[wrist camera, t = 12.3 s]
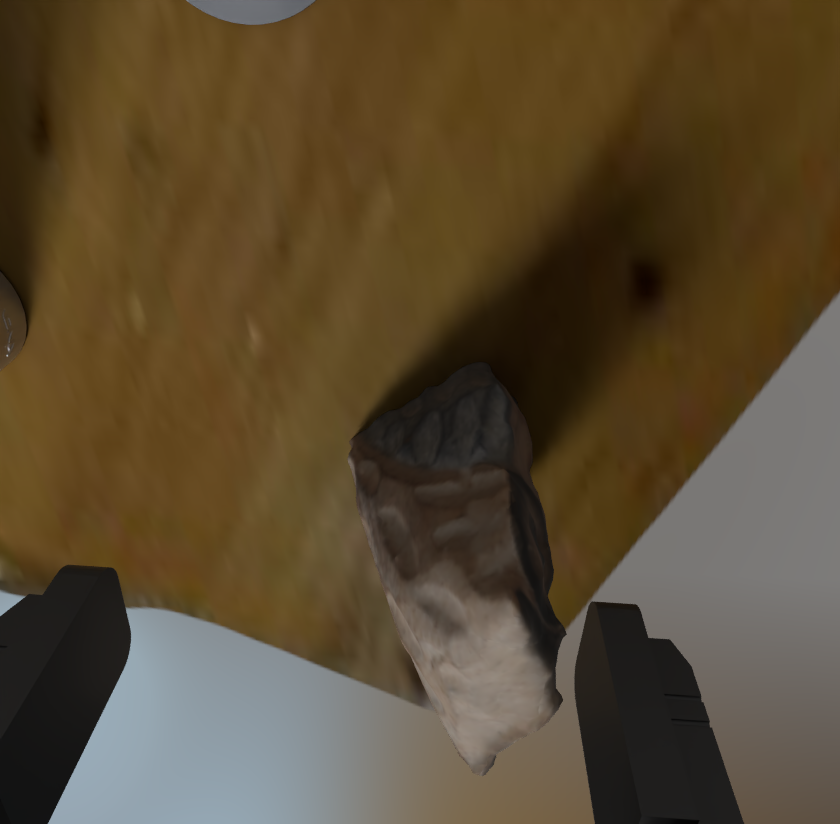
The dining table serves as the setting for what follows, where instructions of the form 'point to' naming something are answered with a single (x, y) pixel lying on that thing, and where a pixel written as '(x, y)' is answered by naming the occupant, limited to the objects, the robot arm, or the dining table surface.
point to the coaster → (252, 9)
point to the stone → (464, 557)
